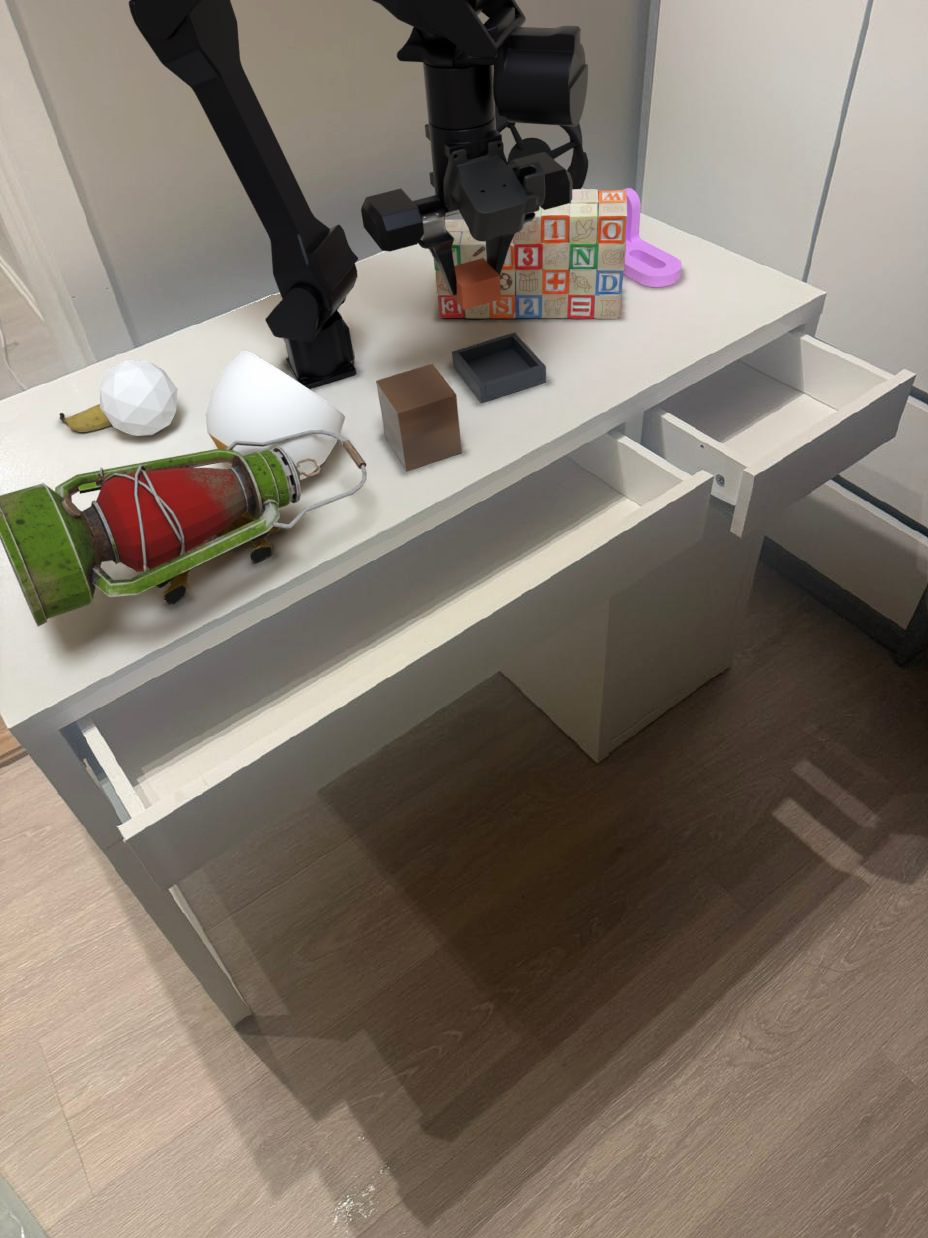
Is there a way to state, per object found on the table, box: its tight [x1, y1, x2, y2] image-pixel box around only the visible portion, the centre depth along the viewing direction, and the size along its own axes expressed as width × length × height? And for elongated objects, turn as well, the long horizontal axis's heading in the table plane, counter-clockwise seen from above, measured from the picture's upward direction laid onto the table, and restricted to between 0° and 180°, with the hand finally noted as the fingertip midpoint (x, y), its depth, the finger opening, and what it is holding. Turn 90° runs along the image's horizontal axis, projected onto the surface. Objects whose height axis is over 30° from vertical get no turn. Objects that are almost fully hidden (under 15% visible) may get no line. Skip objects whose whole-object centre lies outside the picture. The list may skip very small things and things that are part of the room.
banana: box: [58, 403, 112, 433], centre depth 99 cm, size 10×2×4 cm
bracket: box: [622, 187, 682, 288], centre depth 111 cm, size 13×6×7 cm, turn 35°
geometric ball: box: [99, 359, 178, 437], centre depth 96 cm, size 8×8×8 cm
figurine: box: [153, 512, 281, 605], centre depth 84 cm, size 15×6×13 cm
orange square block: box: [448, 258, 501, 310], centre depth 89 cm, size 4×4×2 cm
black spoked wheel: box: [495, 104, 589, 190], centre depth 119 cm, size 14×14×10 cm
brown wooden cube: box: [375, 362, 462, 472], centre depth 91 cm, size 6×6×7 cm
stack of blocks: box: [433, 188, 627, 320], centre depth 105 cm, size 21×6×12 cm, turn 84°
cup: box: [205, 349, 346, 481], centre depth 88 cm, size 12×12×10 cm
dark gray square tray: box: [451, 331, 547, 404], centre depth 100 cm, size 8×8×2 cm
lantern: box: [0, 430, 368, 627], centre depth 77 cm, size 14×11×30 cm
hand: (473, 287), depth 90 cm, fingers closed on orange square block, 4 cm apart
